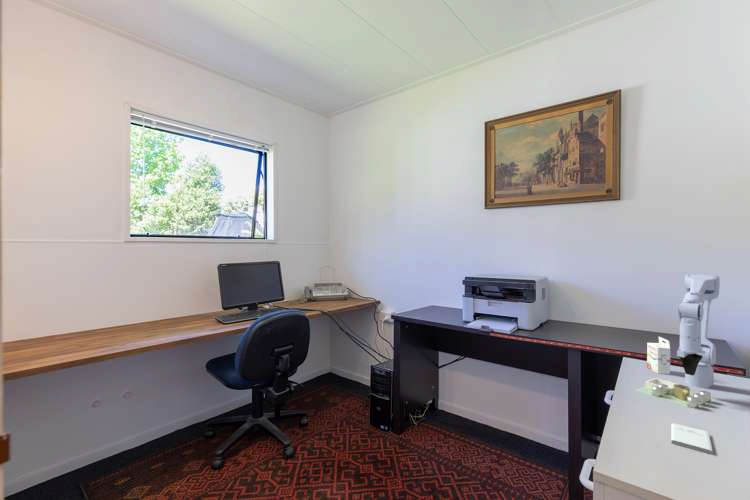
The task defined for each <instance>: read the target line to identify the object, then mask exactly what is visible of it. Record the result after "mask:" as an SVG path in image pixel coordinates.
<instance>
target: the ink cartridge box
mask: <svg viewBox="0 0 750 500" xmlns="http://www.w3.org/2000/svg"><path fill="white" fill-rule="evenodd" d="M646 345H647V346H646V348H647V349H646V369H647V370H648V369H649V370H651V371H653V372H655V373H657V374H660V375H661V374H662V375H671V342H670V341H669V340H668V339H666V338H664V337H661V336H658V342H647V343H646Z"/></svg>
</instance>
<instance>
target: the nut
mask: <svg viewBox="0 0 750 500" xmlns="http://www.w3.org/2000/svg"><path fill="white" fill-rule="evenodd" d="M690 389H691V388H690V387H689V386H687V385H683V384H680V383H676V384H673V396H674V398H676V399H680V400H687V396H690Z"/></svg>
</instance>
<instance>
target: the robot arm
mask: <svg viewBox="0 0 750 500" xmlns="http://www.w3.org/2000/svg"><path fill="white" fill-rule="evenodd" d="M720 283H721V281H720V277H719V276H718V275H717V274H715V275H713V274H712V275H709V274H690V273H687V274H686V275H685V276H684V286H685V290H686V292H685V295H684V297H683V300H682V302H681V303H678V305H677V311H676V312H677V317H678V324H679V347H678V350H676V357H678V358H679V359H680V362H681V363H682V366H683V370H684V383H685V384H686V385H688V386H692V387H695V388H700V389H710V388H711V387H712V386H713V387H717V385H715V384H714V382H715V381H714V380H715V379H714V378H715V376H714V372H715V371H714V368H713V366H714V365H716V362H717V351H716V350H717V347H716V345H715V344H714V343H713V342H711V340H709V339H708V338H707V337H708V329H709V319H710V318H709V317H710V306H711V303H712V301H713V300H715V299H718V298H719V295H720V285H721V284H720Z"/></svg>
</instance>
